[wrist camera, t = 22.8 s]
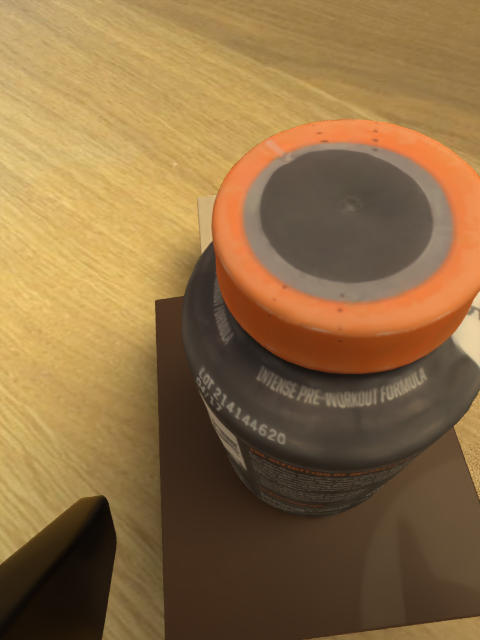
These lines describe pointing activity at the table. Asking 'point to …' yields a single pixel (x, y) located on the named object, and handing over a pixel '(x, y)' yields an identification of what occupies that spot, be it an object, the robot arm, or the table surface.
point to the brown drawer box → (302, 535)
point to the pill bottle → (337, 310)
